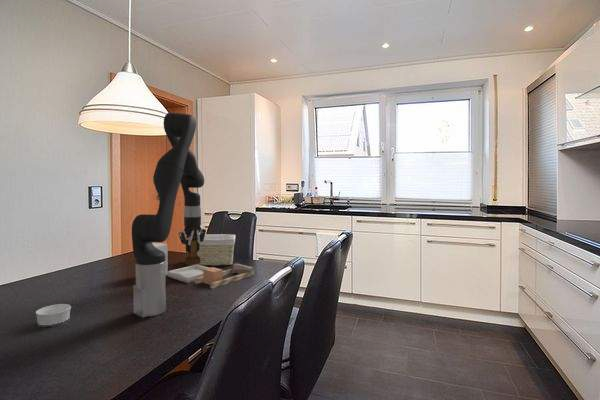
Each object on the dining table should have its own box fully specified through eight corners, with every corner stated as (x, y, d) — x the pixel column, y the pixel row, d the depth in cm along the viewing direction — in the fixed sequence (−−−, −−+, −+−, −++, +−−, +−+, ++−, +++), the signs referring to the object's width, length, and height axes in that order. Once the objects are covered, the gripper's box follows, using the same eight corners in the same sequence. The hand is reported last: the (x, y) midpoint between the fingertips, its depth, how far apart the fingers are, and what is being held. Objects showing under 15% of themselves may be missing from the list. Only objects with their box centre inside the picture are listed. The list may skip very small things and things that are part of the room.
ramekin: (66, 314, 109) (65, 301, 109) (75, 321, 103) (74, 308, 103) (32, 323, 102) (32, 309, 102) (40, 331, 96) (39, 317, 96)
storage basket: (235, 258, 188) (235, 233, 188) (234, 266, 172) (234, 238, 172) (192, 260, 185) (192, 234, 184) (187, 267, 169) (187, 239, 168)
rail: (212, 288, 136) (212, 279, 135) (194, 283, 143) (194, 274, 143) (253, 275, 155) (253, 267, 155) (236, 271, 162) (236, 263, 162)
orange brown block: (213, 286, 139) (213, 272, 139) (203, 282, 143) (203, 269, 143) (222, 283, 143) (222, 269, 143) (212, 280, 147) (212, 266, 147)
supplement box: (138, 278, 149) (138, 246, 148) (151, 273, 157) (151, 242, 156) (155, 280, 146) (155, 247, 146) (168, 274, 155) (168, 243, 154)
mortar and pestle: (195, 265, 149) (195, 226, 148) (182, 264, 151) (182, 225, 150) (202, 261, 156) (202, 224, 155) (190, 260, 157) (189, 223, 156)
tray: (188, 283, 142) (188, 277, 142) (167, 276, 152) (167, 271, 152) (217, 275, 155) (217, 269, 155) (197, 269, 165) (197, 264, 165)
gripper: (183, 217, 144) (184, 256, 145) (210, 215, 155) (210, 250, 156) (174, 216, 149) (174, 253, 150) (200, 213, 160) (200, 248, 161)
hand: (192, 251), depth 153 cm, fingers closed on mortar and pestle, 4 cm apart
